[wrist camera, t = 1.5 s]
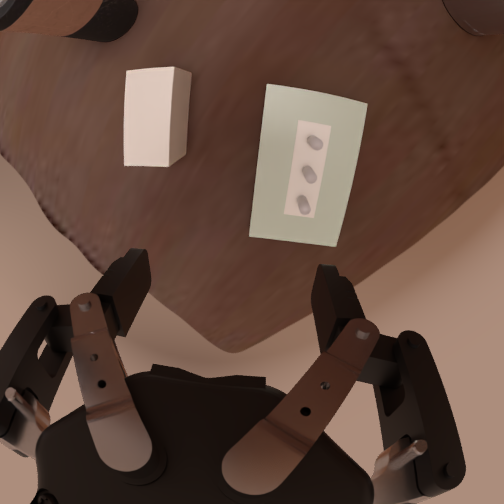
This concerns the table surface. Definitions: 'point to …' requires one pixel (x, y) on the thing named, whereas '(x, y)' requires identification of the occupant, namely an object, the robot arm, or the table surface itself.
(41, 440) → the robot arm
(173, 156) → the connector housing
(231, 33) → the table surface
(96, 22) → the travel mug
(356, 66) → the table surface
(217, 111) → the table surface
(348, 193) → the board
